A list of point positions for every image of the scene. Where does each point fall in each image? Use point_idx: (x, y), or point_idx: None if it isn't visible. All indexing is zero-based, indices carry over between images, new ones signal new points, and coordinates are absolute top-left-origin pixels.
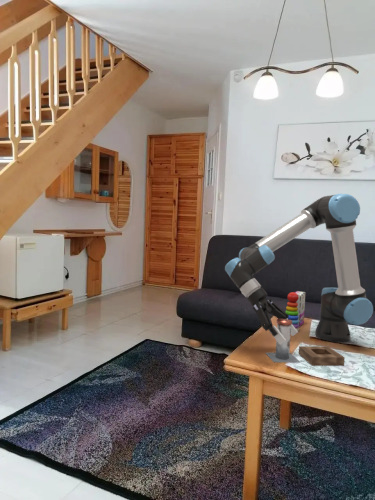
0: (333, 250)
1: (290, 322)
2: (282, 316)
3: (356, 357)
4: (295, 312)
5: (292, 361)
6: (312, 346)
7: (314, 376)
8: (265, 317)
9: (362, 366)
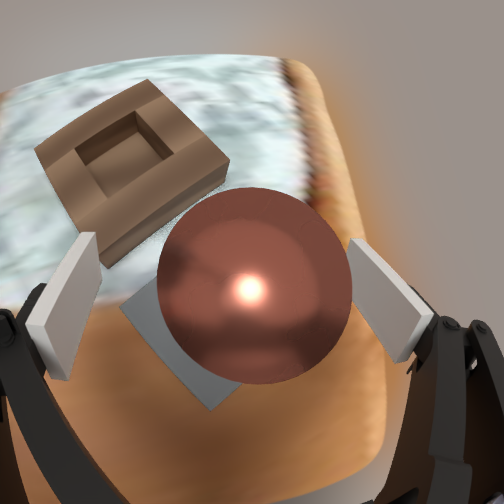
0: None
1: (285, 196)
2: (43, 382)
3: (36, 103)
4: None
5: None
6: (61, 200)
7: (308, 160)
8: (502, 375)
9: (113, 74)
